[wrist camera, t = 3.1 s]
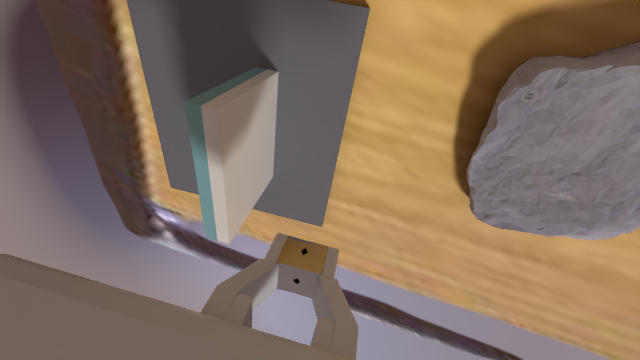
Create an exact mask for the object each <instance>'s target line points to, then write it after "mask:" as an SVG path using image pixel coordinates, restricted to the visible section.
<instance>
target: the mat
mask: <svg viewBox="0 0 640 360" xmlns="http://www.w3.org/2000/svg"><path fill="white" fill-rule="evenodd" d="M127 4H128V8H129V12H130V17H131V21H132V25H133V29H134V33H135V38H136V42H137V46H138V50H139V55H140V59H141V63H142V67H143V71H144V76H145V80H146V84H147V88H148V93H149V97H150V101H151V105H152V109H153V114H154V118H155V122H156V126H157V131H158V135H159V139H160V143H161V148H162V152H163V156H164V160H165V164H166V169H167V173H168V177H169V181H170V186H171V188H175V189H179V190H183V191H187V192H191V193H194V194H198V195H199V191H198V185H197V179H196V172H195V166H194V160H193V154H192V147H191V141H190V135H189V128H188V122H187V116H186V110H185V103H184V102H185V101H188V100H190V99H192V98H194V97H196V96H198V95H200V94H202V93H204V92H206V91H208V90H210V89H212V88H214V87H216V86H218V85H220V84H223V83H225V82H227V81H229V80H231V79H233V78H235V77H237V76H239V75H241V74H243V73H245V72H247V71H249V70H251V69H253V68H255V67H259V68H264V69H269V70H273V71H278V72H279V73H278V92H277V111H276V130H275V149H274V168H273V178H272V179H271V181H270V182H269V184H268V185H267V187H266V188H265V190H264V192H263V193H262V195H261V196H260V198H259V199H258V201H257V202H256V204H255V205H254V207H253V208H252V209H255V210H259V211H263V212H267V213H271V214H275V215H278V216H282V217H286V218H290V219H294V220H297V221H301V222H305V223H309V224H313V225H317V226H320V227H322V224H323V220H324V216H325V211H326V207H327V202H328V198H329V193H330V188H331V184H332V179H333V175H334V170H335V166H336V161H337V156H338V152H339V147H340V143H341V138H342V134H343V129H344V125H345V120H346V115H347V111H348V106H349V102H350V97H351V93H352V88H353V83H354V79H355V74H356V70H357V65H358V61H359V56H360V51H361V47H362V42H363V38H364V33H365V29H366V24H367V20H368V15H369V10H370V8H367V7H362V6H356V5H351V4H346V3H340V2H335V1H330V0H127Z"/></svg>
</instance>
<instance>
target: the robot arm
mask: <svg viewBox="0 0 640 360" xmlns="http://www.w3.org/2000/svg"><path fill="white" fill-rule="evenodd" d="M338 253H339V249H336V248H333V247H328V246H325V245H322V244H318V243H314V242H310V241H305V240H302V239H298V238H295V237H292V236H288V235H284V234H281V233H278V234H277V235H276V236H275V239H274V241H273V243H272V245H271V247H270V249H269V251H268V253H267V255H266V257H265V259H262V258H261V259H260V260H258V261H256V262H255V263H253V264H251V265H250V266H248V267H247V268H245V269H243V270H242V271H240V272H238V273H237V274H235V275H234V276H232V277H230V278H229V279H227V280H225V281H224V282H222V283H221V284H219V285H218V286H217V287H216V288H215V290H214V291H213V293H212V295H211V296H210V298H209V300H208V301H207V303H206V304H205V306H204V308H203V309H202V311H201V313H199V312H196V311H193V310H189V309H186V308H183V307H179V306H176V305H173V304H170V303H166V302H163V301H159V300H156V299H153V298H150V297H146V296H143V295H140V294H137V293H133V292H130V291H126V290H123V289H120V288H117V287H113V286H110V285H107V284H104V283H100V282H97V281H94V280H90V279H87V278H84V277H81V276H77V275H74V274H70V273H67V272H64V271H60V270H57V269H54V268H51V267H48V266H44V265H41V264H38V263H34V262H31V261H28V260H25V259H22V258H18V257H15V256H12V255H8V254H0V360H356V350H357V337H358V325H357V323H356V321H355V319H354V316H353V314H352V312H351V310H350V307H349V305H348V303H347V301H346V298H345V296H344V294H343V292H342V290H341V287H340V285H339V283H338V281H337V279H334V275H335V269H336V264H337V259H338ZM277 289H281V290H285V291H289V292H293V293H296V294H299V295H302V296H306V297H309V298H312V301H313V305H314V308H315V312H316V315H317V319H318V321H317V324H316V328H315V332H314V335H313V338H312V341H311V345H310V346H308V345H305V344H302V343H299V342H295V341H292V340H289V339H285V338H282V337H279V336H275V335H272V334H269V333H265V332H262V331H259V330H255V329H252V310H253V309H255V308H256V307H257V306H258V305H259V304H260V303H262V301H264V300H265V299H266V298H267V297H269V296H270V295H271V294H272V293H273V292H274V291H275V290H277Z"/></svg>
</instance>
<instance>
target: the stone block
mask: <svg viewBox="0 0 640 360" xmlns="http://www.w3.org/2000/svg"><path fill="white" fill-rule="evenodd" d="M466 173H467V175H466V180H467V183H468V185H469V188H470V205H469V206H470V209H471V211H472V213H473V214H474V215H475V216H476V218H477V219H479V220H481V221H482V222H485V223H487V224H488V225H491V226H494V227H497V228H500V229H508V230H516V231H520V232H527V233H533V234H538V235H544V236H548V237H550V236H566V237H570V238H575V239H585V240H597V239H607V238H613V237H616V236H618V235H620V234H623V233H627V234H628V233H631V232H632V231H633V230H635V229H638V228H640V42H638V43H632V44H628V45H625V46H622V47H620V48H615V49H610V50H607V51H603V52H600V53H598V54H596V55H594V56H587V57H566V56H560V55H558V56H549V57H545V56H544V57H534V58H531V59H528V60H527V61H526V62H525V63H523V64H521V65H520V66H519V67H518V68H516V69H515V70H514V72H513V73H512V74H511V75H510V77H509V79H508V81H507V82H506V83H505V84H504V86H503V88H502V89H501V90H500V92H499V93H498V97H497V100H496V102H495V104H494V107H493V109H492V111H491V114H490V117H489V120H488V122H487V125H486V127H485V128H484V130H483V133H482V135H481V137H480V141H479V144H478V146H477V148H476V150H475V151H474V153H473V154H472V157H471V160H470V163H469V165H468V168H467V172H466Z"/></svg>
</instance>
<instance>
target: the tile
mask: <svg viewBox="0 0 640 360" xmlns="http://www.w3.org/2000/svg"><path fill="white" fill-rule="evenodd" d="M278 73H279V72H278V71H273V70H269V69H264V68H259V67H255V68H253V69H251V70H249V71H247V72H245V73H243V74H241V75H239V76H237V77H235V78H233V79H231V80H229V81H227V82H225V83H223V84H220V85H218V86H216V87H214V88H212V89H210V90H208V91H206V92H204V93H202V94H200V95H198V96H196V97H194V98H192V99H190V100H188V101H185V102H184V103H185V110H186V116H187V122H188V128H189V135H190V141H191V147H192V154H193V160H194V166H195V172H196V179H197V185H198V191H199V197H200V204H201V210H202V216H203V222H204V229H205V234H206V238H208V239H212V240H216V241H219V242H223V243H227V244H229V243H230V242H231V241H232V239H233V238H234V236H235V235H236V233H237V231H238V230H239V228H240V227H241V225H242V224H243V222H244V221H245V219H246V218H247V216H248V215H249V213H250V211H251V210H252V208H253V207H254V205H255V204H256V202H257V201H258V199H259V198H260V196H261V195H262V193H263V192H264V190H265V188H266V187H267V185H268V184H269V182H270V181H271V179H272V178H273V168H274V149H275V130H276V111H277V92H278Z"/></svg>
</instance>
